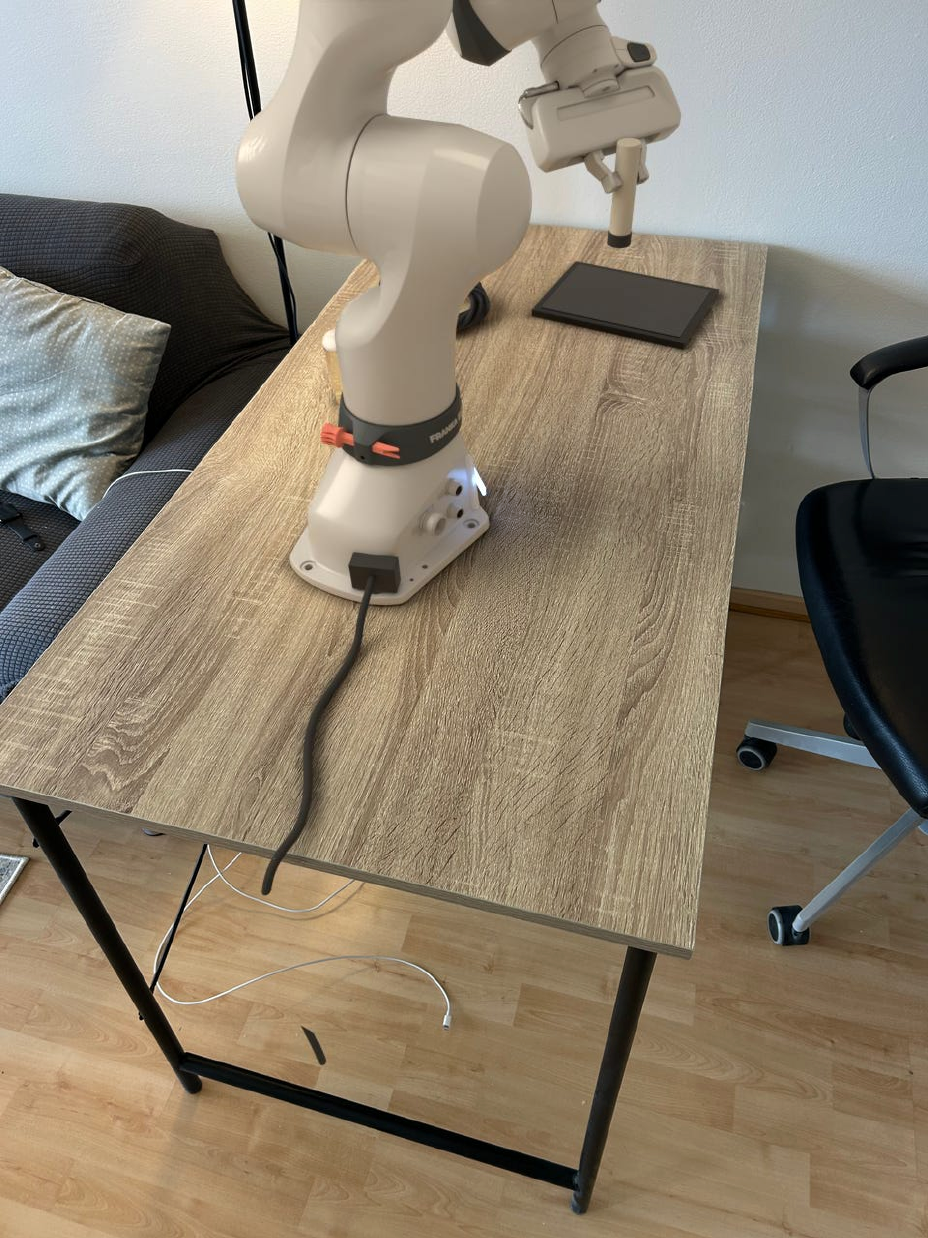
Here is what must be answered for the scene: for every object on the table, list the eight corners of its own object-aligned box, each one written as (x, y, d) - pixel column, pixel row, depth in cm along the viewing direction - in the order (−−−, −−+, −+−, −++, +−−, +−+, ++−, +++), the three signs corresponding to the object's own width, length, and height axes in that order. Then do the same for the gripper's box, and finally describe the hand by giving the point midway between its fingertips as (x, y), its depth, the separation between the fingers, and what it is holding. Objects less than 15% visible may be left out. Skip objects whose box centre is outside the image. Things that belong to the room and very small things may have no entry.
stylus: (626, 250, 112) (636, 147, 104) (603, 245, 113) (612, 144, 105) (634, 240, 114) (645, 139, 105) (612, 236, 115) (621, 135, 106)
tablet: (683, 349, 118) (684, 342, 117) (531, 315, 125) (531, 308, 125) (718, 295, 128) (719, 288, 127) (575, 267, 135) (575, 259, 134)
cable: (500, 299, 129) (500, 270, 126) (474, 349, 120) (473, 319, 117) (388, 286, 133) (385, 258, 129) (354, 334, 123) (350, 305, 120)
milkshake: (371, 408, 111) (362, 335, 104) (329, 409, 111) (316, 335, 104) (375, 388, 114) (366, 315, 107) (333, 388, 114) (321, 316, 107)
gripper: (523, 75, 100) (571, 193, 102) (664, 42, 107) (706, 153, 109) (501, 108, 106) (546, 219, 107) (635, 75, 113) (676, 180, 115)
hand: (628, 186), depth 108 cm, fingers closed on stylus, 3 cm apart
